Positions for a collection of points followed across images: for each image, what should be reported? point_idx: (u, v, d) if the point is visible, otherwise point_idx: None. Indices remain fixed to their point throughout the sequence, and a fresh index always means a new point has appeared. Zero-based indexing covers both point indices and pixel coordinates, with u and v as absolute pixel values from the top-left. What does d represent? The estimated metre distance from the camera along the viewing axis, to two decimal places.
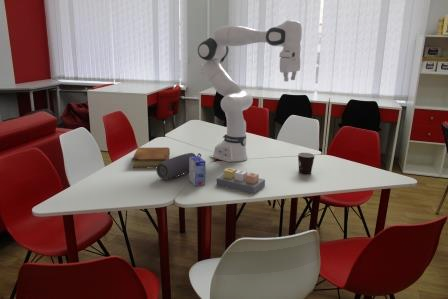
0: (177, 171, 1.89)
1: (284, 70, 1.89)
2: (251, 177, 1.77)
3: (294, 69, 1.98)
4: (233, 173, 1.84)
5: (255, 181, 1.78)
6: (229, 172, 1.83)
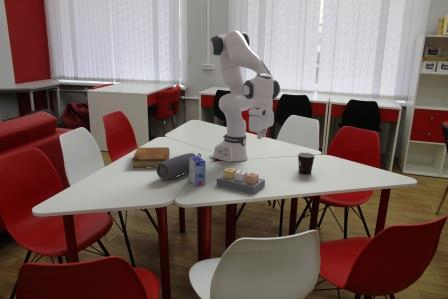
0: (177, 171, 1.89)
1: (254, 130, 1.71)
2: (251, 177, 1.77)
3: (266, 126, 1.80)
4: (233, 173, 1.84)
5: (255, 181, 1.78)
6: (229, 172, 1.83)
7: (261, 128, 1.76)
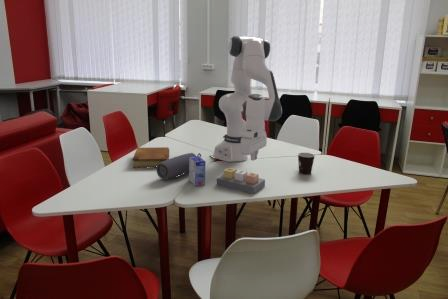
0: (177, 171, 1.89)
1: (245, 152, 1.67)
2: (251, 177, 1.77)
3: (258, 147, 1.76)
4: (233, 173, 1.84)
5: (255, 181, 1.78)
6: (229, 172, 1.83)
7: (253, 150, 1.71)
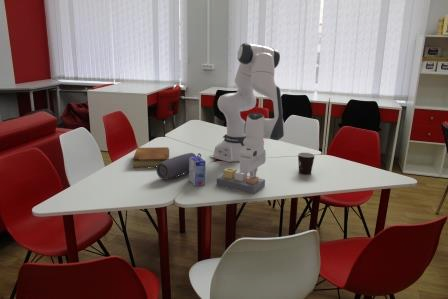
0: (177, 171, 1.89)
1: (245, 171, 1.69)
2: (251, 180, 1.78)
3: (258, 165, 1.78)
4: (233, 173, 1.84)
5: None
6: (229, 172, 1.83)
7: (252, 168, 1.74)
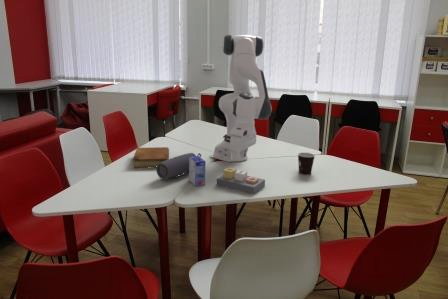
0: (177, 171, 1.89)
1: (235, 150, 1.70)
2: (251, 182, 1.78)
3: (248, 145, 1.79)
4: (233, 173, 1.84)
5: None
6: (229, 172, 1.83)
7: (242, 148, 1.74)
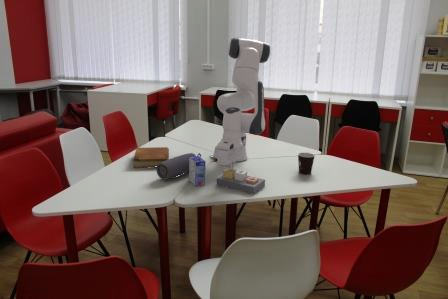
0: (177, 171, 1.89)
1: (222, 163, 1.75)
2: (251, 182, 1.78)
3: (235, 158, 1.84)
4: (233, 173, 1.84)
5: None
6: (229, 172, 1.83)
7: (230, 161, 1.79)
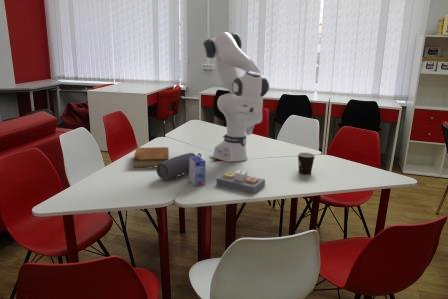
0: (177, 171, 1.89)
1: (241, 126, 1.76)
2: (251, 182, 1.78)
3: (254, 122, 1.85)
4: (233, 177, 1.85)
5: None
6: (229, 176, 1.84)
7: (249, 125, 1.81)
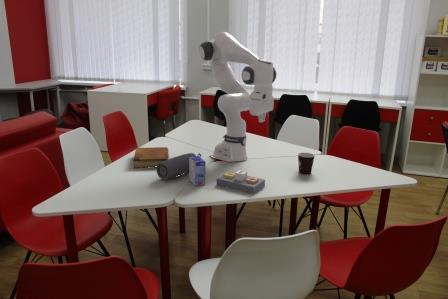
0: (177, 171, 1.89)
1: (254, 113, 1.78)
2: (251, 182, 1.78)
3: (266, 110, 1.87)
4: (233, 177, 1.85)
5: None
6: (229, 176, 1.84)
7: (261, 112, 1.82)
